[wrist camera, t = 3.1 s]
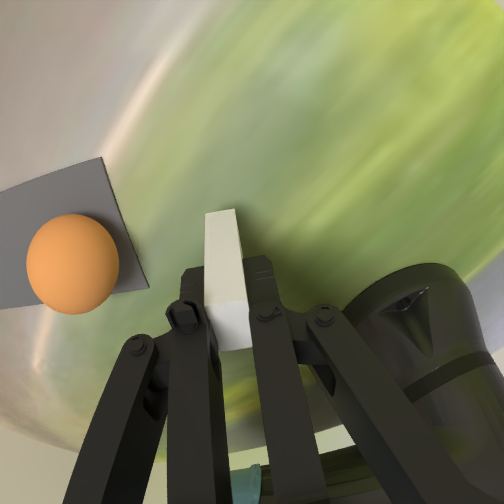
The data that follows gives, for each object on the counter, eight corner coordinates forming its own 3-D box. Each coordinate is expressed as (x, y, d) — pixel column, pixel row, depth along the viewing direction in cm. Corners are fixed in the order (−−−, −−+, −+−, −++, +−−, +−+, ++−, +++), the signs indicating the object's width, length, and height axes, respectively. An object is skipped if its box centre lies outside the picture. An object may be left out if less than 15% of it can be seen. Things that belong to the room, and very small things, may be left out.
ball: (132, 206, 19) (107, 265, 14) (124, 279, 22) (107, 344, 17) (47, 190, 17) (2, 242, 12) (51, 263, 20) (20, 322, 15)
